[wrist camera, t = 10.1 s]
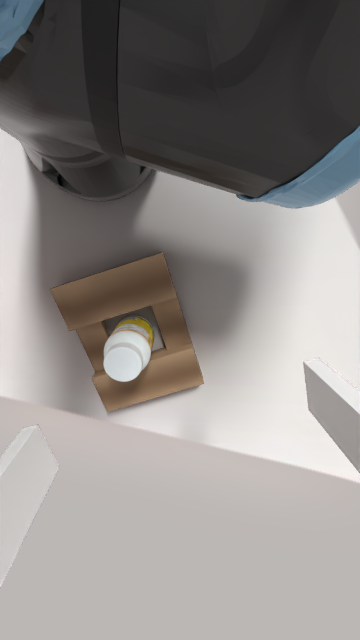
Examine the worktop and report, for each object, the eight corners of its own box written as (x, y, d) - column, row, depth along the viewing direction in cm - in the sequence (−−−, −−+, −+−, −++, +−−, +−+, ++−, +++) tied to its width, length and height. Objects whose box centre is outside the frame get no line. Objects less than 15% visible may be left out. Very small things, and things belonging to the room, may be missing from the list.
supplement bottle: (129, 307, 34) (114, 330, 25) (162, 328, 36) (159, 358, 26) (108, 338, 36) (86, 370, 26) (140, 357, 37) (130, 396, 27)
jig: (60, 285, 33) (49, 289, 30) (162, 252, 33) (162, 253, 30) (111, 399, 38) (107, 412, 36) (201, 372, 38) (203, 383, 35)
